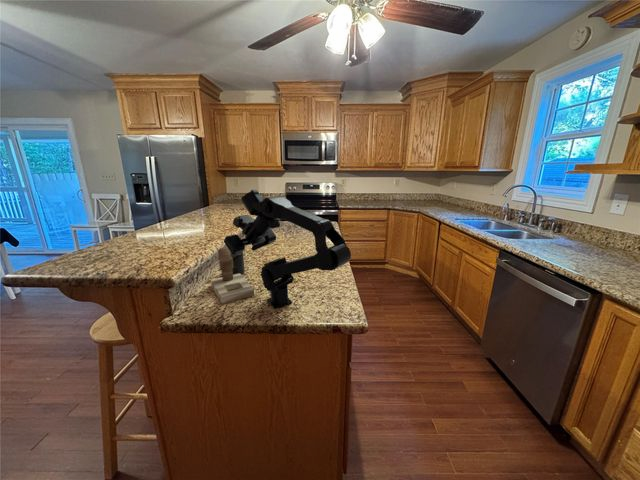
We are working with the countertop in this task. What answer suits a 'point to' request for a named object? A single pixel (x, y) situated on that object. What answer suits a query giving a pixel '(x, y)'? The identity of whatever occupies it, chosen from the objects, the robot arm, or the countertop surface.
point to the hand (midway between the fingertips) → (242, 253)
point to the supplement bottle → (238, 264)
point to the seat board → (232, 288)
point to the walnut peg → (226, 263)
